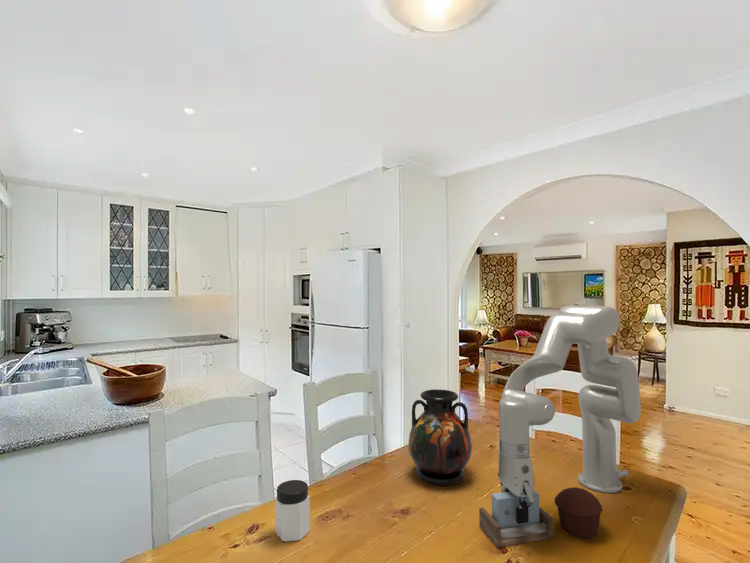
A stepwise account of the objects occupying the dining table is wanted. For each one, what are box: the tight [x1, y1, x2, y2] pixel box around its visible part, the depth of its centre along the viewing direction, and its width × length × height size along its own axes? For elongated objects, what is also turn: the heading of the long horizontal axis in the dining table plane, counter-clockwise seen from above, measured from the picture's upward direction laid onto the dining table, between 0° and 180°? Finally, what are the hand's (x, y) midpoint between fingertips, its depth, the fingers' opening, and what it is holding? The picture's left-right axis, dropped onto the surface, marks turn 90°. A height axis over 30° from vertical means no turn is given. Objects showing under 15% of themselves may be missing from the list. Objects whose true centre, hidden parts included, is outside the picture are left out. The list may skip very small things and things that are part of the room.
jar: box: [274, 479, 311, 542], centre depth 108 cm, size 9×8×12 cm
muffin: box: [554, 487, 604, 540], centre depth 108 cm, size 12×11×10 cm
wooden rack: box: [478, 506, 554, 548], centre depth 107 cm, size 16×9×5 cm, turn 103°
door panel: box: [491, 489, 540, 529], centre depth 107 cm, size 12×3×9 cm, turn 103°
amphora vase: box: [408, 388, 473, 486], centre depth 140 cm, size 22×22×28 cm
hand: (515, 514), depth 107 cm, fingers open, 5 cm apart
